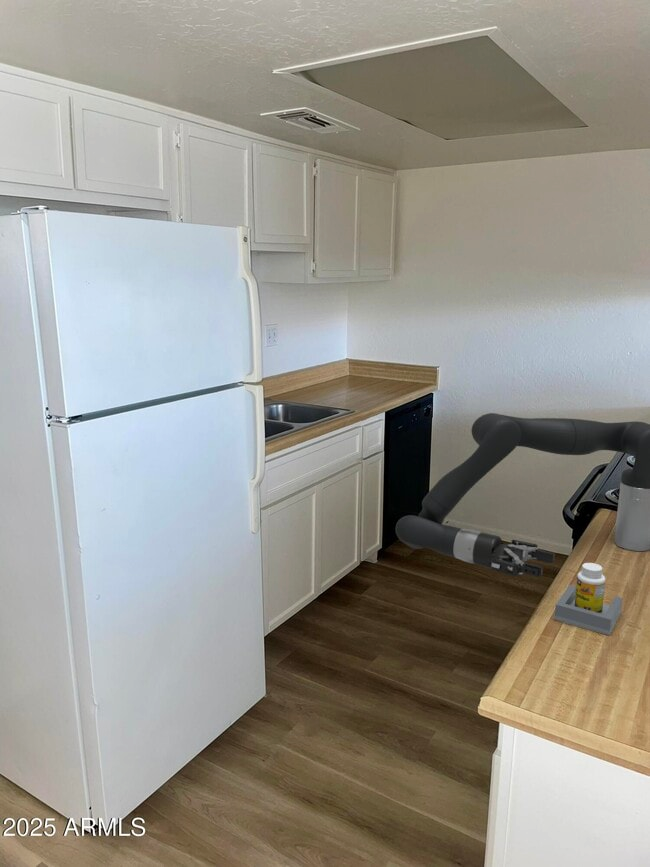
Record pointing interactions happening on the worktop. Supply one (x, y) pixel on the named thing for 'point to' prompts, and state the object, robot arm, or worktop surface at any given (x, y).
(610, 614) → the u rest
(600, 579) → the supplement bottle
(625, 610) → the worktop surface
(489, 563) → the robot arm
